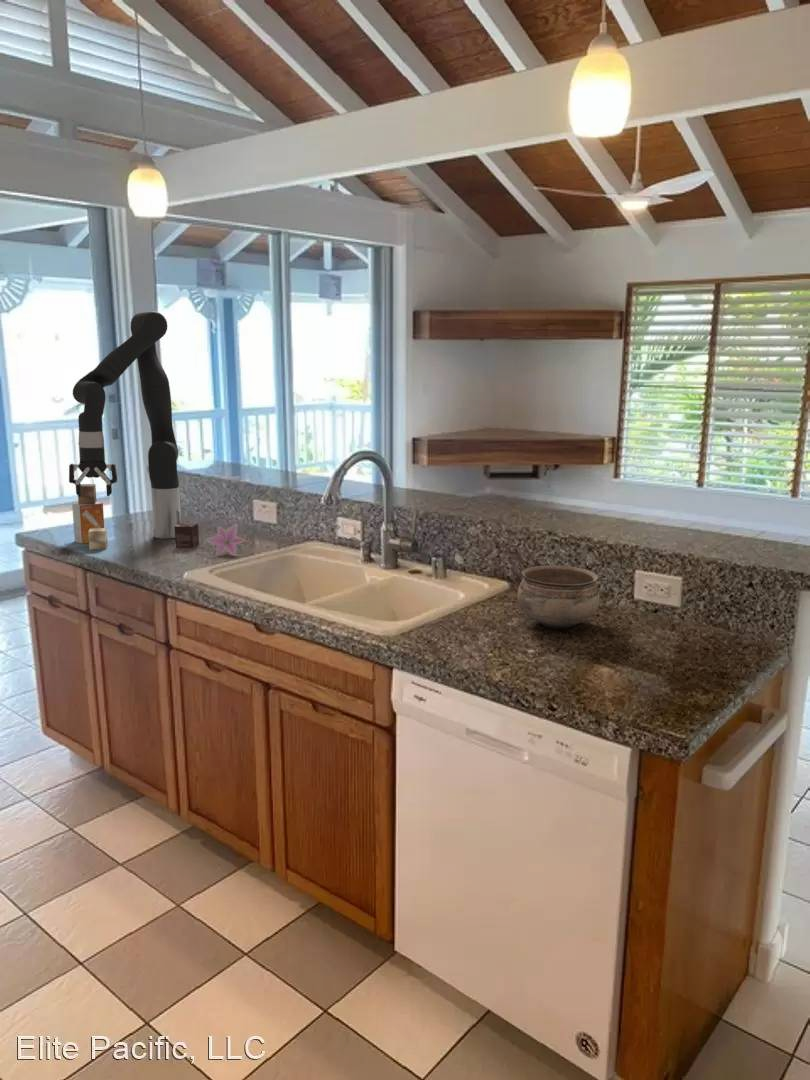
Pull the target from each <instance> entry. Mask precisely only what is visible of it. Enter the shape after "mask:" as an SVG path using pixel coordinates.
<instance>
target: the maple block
mask: <svg viewBox="0 0 810 1080" xmlns="http://www.w3.org/2000/svg"><path fill="white" fill-rule="evenodd" d="M107 532H108V530H107V528H106V527H104V528H93V529H90V530H89V531H88V535H89V543H88V545H89V546H88V548H89V550H91V551H92V549H97V550H106V549H108V546H109V545H108V533H107Z"/></svg>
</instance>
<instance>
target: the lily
mask: <svg viewBox="0 0 810 1080" xmlns="http://www.w3.org/2000/svg"><path fill="white" fill-rule="evenodd" d="M238 529H239V523H235V524H233V525H231V526H230V527H228V528H227V529H224V528H223V527H222V526H220V525H218V526H217V534H215V535H213V536H210V537H208V538H206V540H205V541H206V542H208V543H210V544H212V545H214V546H217V547H216V550H215V551H216V552H215V555H216V556H219V555H221V554H223V553H224V552H225V551H226V552H227V553H229V554H230V555H232V556H233V557H237V556H238V555H237V553H238V551H237V545H239V544H241V543H244V542H245V541H246V539H244V538H242V537H240V536H237V534H238Z"/></svg>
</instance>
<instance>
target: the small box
mask: <svg viewBox="0 0 810 1080" xmlns="http://www.w3.org/2000/svg"><path fill="white" fill-rule="evenodd" d="M71 507H72V521H73V522H72V523H73V534H74V541H75V542H76V543H79V544H82V545H83V544H89V535H88V531H89V530H90V529H93V528H105V520H104V519H105V516H104V503H103V502H100V501H97V502H96V503H95V504H80V505H79V503H78V502H74V503H71Z"/></svg>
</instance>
